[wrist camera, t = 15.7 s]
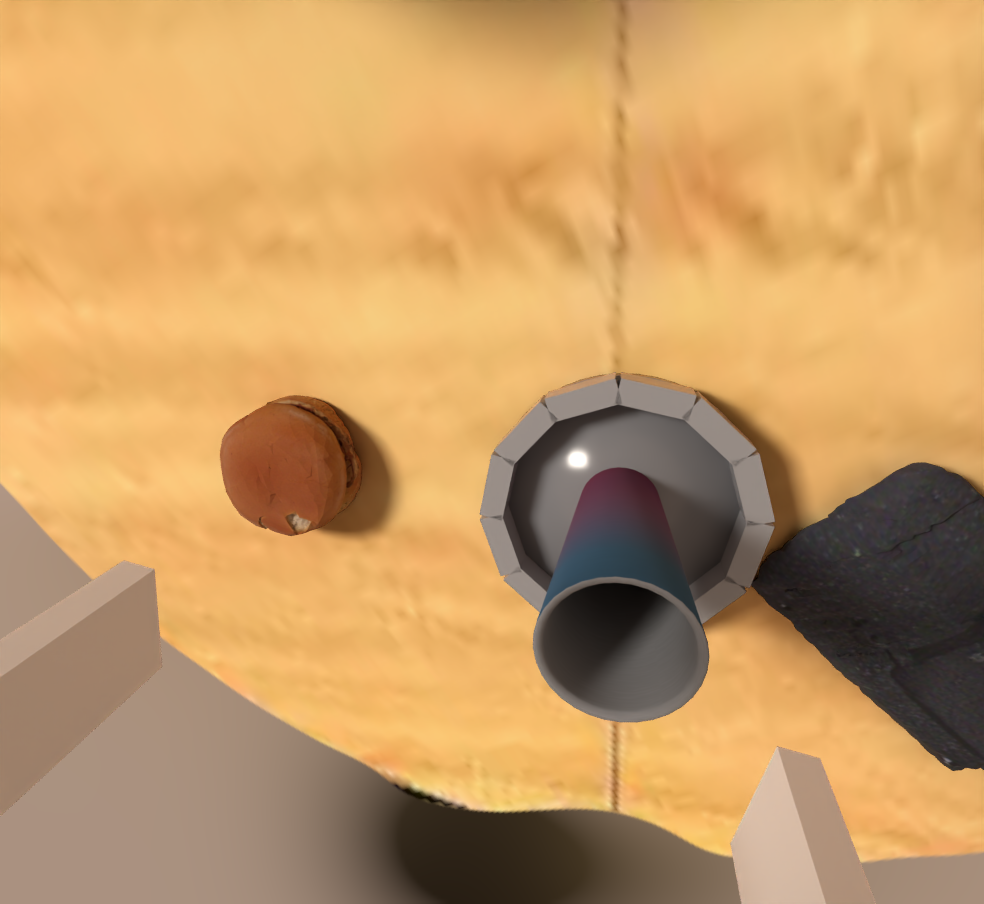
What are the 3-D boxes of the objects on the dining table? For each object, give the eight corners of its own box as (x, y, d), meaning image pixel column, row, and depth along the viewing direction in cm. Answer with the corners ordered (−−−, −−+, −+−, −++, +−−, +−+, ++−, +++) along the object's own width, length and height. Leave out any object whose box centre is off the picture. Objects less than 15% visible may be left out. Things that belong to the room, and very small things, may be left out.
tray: (473, 574, 41) (463, 597, 39) (520, 346, 36) (511, 353, 33) (709, 642, 39) (715, 671, 36) (800, 409, 33) (817, 422, 30)
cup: (545, 491, 37) (499, 627, 23) (632, 432, 35) (640, 545, 21) (607, 569, 38) (598, 746, 24) (697, 517, 35) (745, 680, 22)
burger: (296, 367, 40) (256, 380, 35) (391, 462, 40) (364, 486, 36) (224, 455, 43) (180, 477, 39) (313, 541, 44) (279, 571, 40)
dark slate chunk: (938, 409, 32) (988, 433, 28) (1207, 660, 33) (1296, 721, 29) (727, 573, 38) (740, 614, 33) (961, 781, 39) (1005, 848, 34)
